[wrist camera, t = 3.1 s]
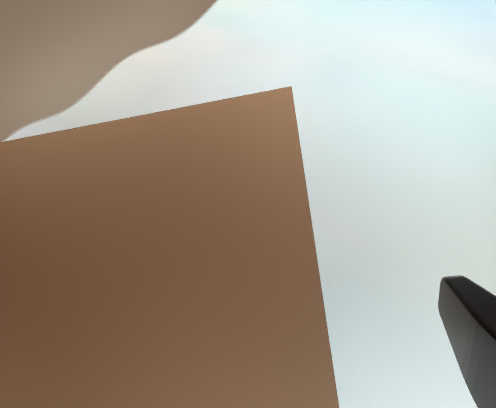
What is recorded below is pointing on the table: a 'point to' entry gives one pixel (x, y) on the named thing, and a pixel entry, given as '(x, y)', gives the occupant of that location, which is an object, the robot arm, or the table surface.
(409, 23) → the table surface
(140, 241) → the walnut post
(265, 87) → the table surface
